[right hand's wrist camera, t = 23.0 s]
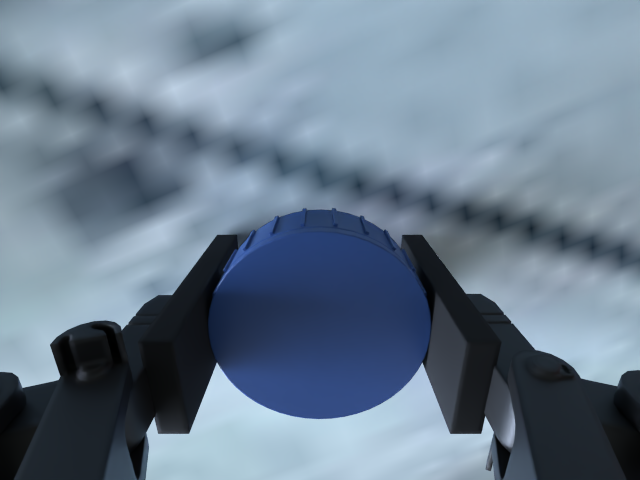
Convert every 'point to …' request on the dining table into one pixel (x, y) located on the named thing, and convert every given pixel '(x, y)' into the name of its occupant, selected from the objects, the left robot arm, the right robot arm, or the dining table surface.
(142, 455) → the right robot arm
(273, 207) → the dining table surface
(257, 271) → the lid
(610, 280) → the dining table surface
